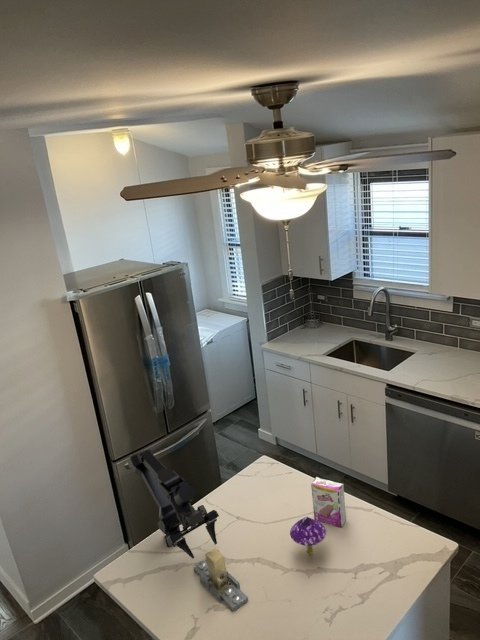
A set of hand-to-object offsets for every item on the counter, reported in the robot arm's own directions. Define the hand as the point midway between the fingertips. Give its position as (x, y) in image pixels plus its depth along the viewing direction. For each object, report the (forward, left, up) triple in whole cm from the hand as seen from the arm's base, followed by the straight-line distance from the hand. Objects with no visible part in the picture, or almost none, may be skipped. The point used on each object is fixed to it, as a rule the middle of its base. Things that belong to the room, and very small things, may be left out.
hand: (205, 551), depth 175 cm
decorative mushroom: (+6, +35, -10) cm, 37 cm away
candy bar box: (-6, +49, -10) cm, 51 cm away
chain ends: (+6, +2, -10) cm, 12 cm away
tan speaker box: (+6, +2, -10) cm, 12 cm away
